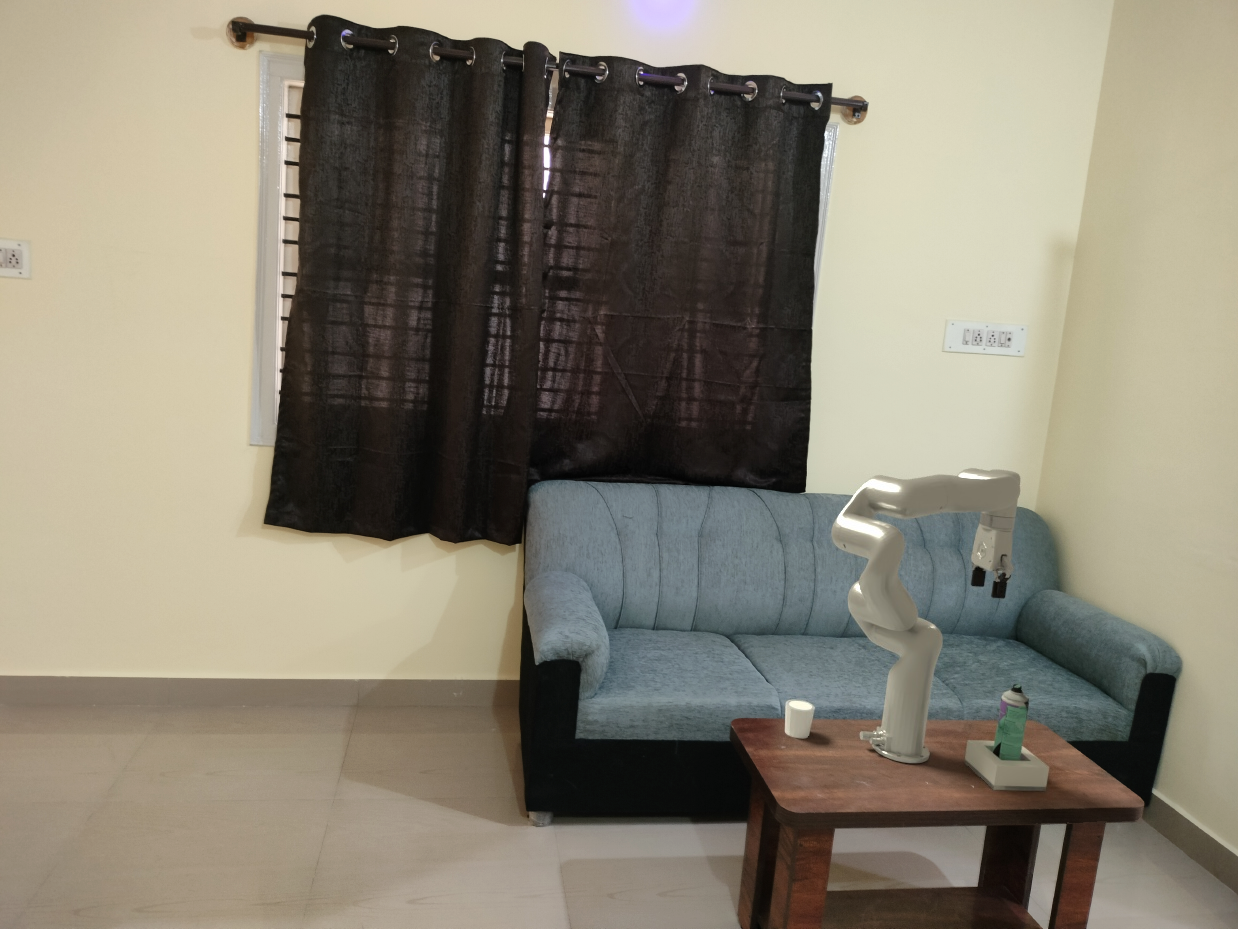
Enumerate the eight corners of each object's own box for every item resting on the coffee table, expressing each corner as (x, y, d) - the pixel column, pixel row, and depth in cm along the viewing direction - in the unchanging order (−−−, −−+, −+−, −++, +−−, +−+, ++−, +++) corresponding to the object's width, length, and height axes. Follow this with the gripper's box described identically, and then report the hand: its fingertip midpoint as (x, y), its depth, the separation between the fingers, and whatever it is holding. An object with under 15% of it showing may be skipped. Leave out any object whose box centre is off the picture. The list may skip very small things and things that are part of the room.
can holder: (993, 790, 182) (997, 765, 182) (964, 763, 194) (967, 740, 193) (1045, 791, 184) (1049, 767, 183) (1013, 764, 196) (1016, 741, 195)
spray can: (1017, 770, 190) (1031, 684, 188) (1017, 780, 185) (1031, 692, 183) (990, 763, 192) (1004, 678, 190) (990, 773, 187) (1003, 686, 185)
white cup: (809, 728, 205) (813, 701, 204) (813, 741, 198) (817, 712, 198) (780, 725, 206) (784, 697, 205) (783, 737, 199) (787, 708, 198)
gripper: (964, 514, 211) (955, 581, 214) (1000, 528, 194) (990, 601, 196) (993, 515, 212) (984, 583, 214) (1032, 530, 195) (1021, 603, 197)
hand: (987, 591), depth 205 cm, fingers open, 9 cm apart
